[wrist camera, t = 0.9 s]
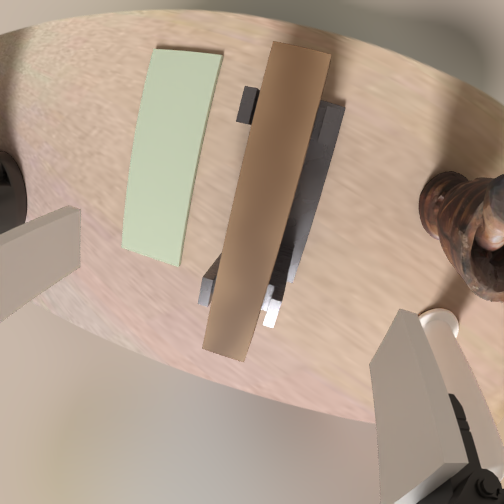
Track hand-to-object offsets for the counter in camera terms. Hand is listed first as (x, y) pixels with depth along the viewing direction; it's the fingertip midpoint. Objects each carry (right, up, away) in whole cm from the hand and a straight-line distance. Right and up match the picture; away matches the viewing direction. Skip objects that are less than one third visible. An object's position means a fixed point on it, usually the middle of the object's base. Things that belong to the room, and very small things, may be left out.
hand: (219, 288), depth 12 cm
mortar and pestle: (+20, +7, +17) cm, 28 cm away
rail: (+2, +4, +11) cm, 12 cm away
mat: (-8, +12, +21) cm, 26 cm away
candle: (+24, -8, +23) cm, 34 cm away
